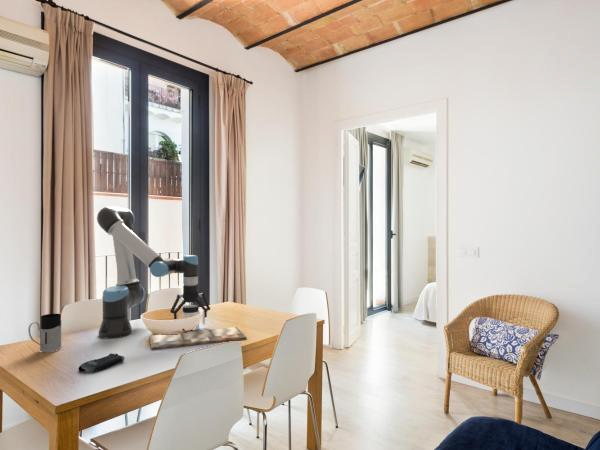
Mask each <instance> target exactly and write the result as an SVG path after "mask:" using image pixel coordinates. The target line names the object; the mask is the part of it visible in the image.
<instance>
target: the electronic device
mask: <svg viewBox="0 0 600 450" xmlns="http://www.w3.org/2000/svg"><path fill="white" fill-rule="evenodd" d="M124 362H125V356H124V355H120V354H118V353H117V352H116V353H112V352H110V353H109V354H108V355H106V356H102V357H100V358H96V359H91V360H88V361H85V362H83V363H81V364H79V366H78V373H82V374H93V373H98V372H101V371H104V370H107V369H109V368H111V367H114V366H116V365H118V364H124ZM82 370H84V372H82Z"/></svg>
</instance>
